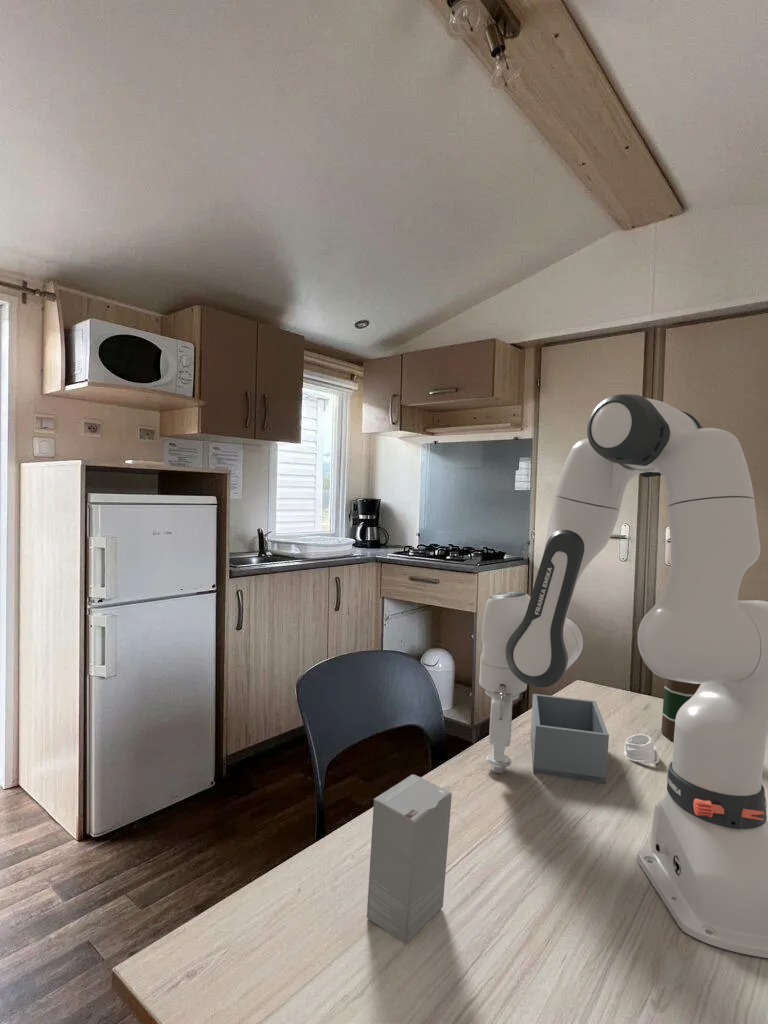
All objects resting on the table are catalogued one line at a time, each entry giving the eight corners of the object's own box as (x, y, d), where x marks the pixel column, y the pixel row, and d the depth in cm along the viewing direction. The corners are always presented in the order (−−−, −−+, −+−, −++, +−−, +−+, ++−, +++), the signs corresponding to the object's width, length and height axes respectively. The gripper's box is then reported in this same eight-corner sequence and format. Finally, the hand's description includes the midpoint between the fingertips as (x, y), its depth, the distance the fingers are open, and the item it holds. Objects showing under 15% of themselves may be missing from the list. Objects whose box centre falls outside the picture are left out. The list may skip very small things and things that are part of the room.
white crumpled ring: (663, 774, 116) (668, 751, 115) (627, 766, 117) (632, 744, 116) (652, 753, 124) (656, 731, 123) (618, 746, 125) (623, 724, 124)
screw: (510, 778, 109) (484, 774, 110) (511, 766, 114) (485, 762, 115) (514, 709, 108) (487, 705, 110) (515, 700, 113) (489, 696, 114)
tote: (605, 783, 109) (608, 735, 108) (533, 772, 112) (535, 726, 111) (593, 742, 126) (595, 701, 126) (530, 734, 129) (532, 693, 129)
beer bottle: (653, 732, 133) (660, 627, 132) (677, 728, 136) (684, 625, 135) (683, 747, 126) (691, 636, 125) (708, 742, 129) (716, 633, 128)
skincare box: (404, 885, 79) (409, 769, 78) (449, 912, 74) (455, 789, 73) (362, 920, 72) (367, 793, 71) (408, 951, 68) (415, 817, 67)
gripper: (521, 698, 100) (516, 777, 101) (519, 663, 120) (516, 730, 121) (483, 693, 102) (479, 772, 102) (488, 660, 122) (485, 726, 122)
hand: (499, 749), depth 112 cm, fingers open, 7 cm apart
